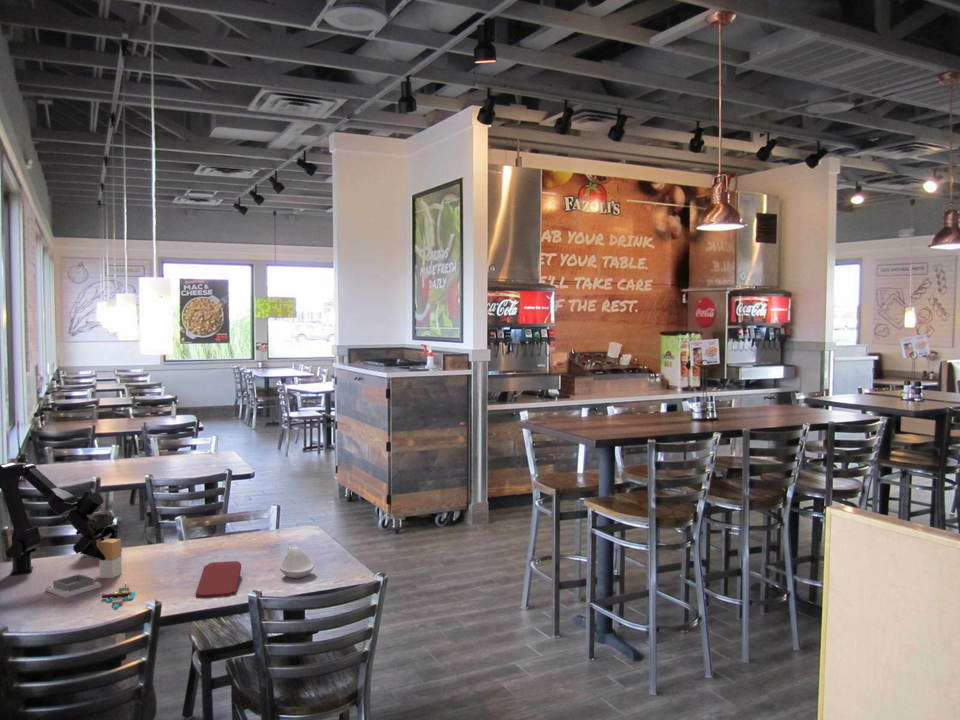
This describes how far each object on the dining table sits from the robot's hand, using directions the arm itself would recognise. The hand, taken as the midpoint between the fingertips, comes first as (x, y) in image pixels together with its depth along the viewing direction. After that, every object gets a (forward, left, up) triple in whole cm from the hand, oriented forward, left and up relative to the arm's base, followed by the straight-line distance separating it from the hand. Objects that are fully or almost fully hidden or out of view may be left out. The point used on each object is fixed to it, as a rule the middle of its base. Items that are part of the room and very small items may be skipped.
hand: (112, 555), depth 259 cm
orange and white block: (-1, -1, -7) cm, 7 cm away
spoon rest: (+21, +59, -8) cm, 63 cm away
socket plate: (+9, -12, -7) cm, 16 cm away
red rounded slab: (+25, +33, -8) cm, 42 cm away
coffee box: (-31, -5, -7) cm, 32 cm away
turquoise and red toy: (+25, +2, -8) cm, 26 cm away
